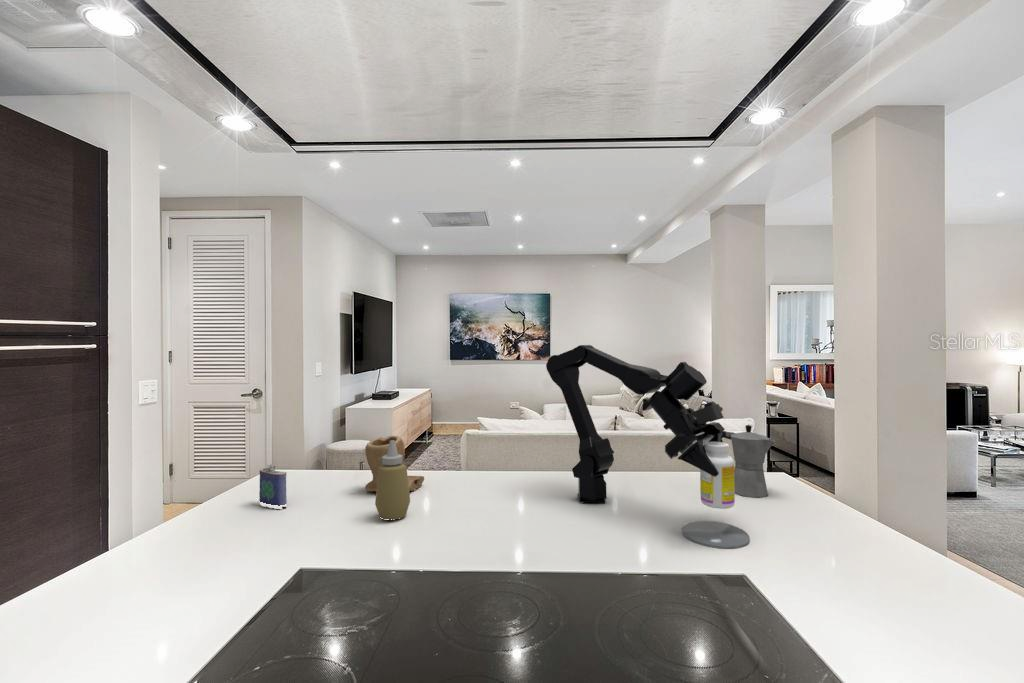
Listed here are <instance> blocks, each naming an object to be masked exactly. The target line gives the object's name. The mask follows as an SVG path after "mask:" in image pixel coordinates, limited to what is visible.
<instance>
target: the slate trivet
mask: <svg viewBox="0 0 1024 683" xmlns="http://www.w3.org/2000/svg"><path fill="white" fill-rule="evenodd" d="M681 534H682V535H683V536H684V537H685V538H686V539H688V540H689V541H691V542H693V543H695V544H697V545H701V546H705V547H710V548H714V549H715V548H716V549H725V550H727V549H729V550H730V549H739V548H740V549H741V548H743V547H746V546H748V544H750V539H751V538H750V535H749V533H748V532H746V530H743V529H742V528H740V527H738V526H735V525H733V524H728V523H726V522H725V523H724V522H719V521H713V520H696V521H689V522H687V523H685V524H683V525H682V527H681Z"/></svg>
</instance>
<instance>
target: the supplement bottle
mask: <svg viewBox="0 0 1024 683" xmlns="http://www.w3.org/2000/svg"><path fill="white" fill-rule="evenodd" d="M729 446H730V445H729V443H726V442H724V441H723V442H706V443H705V450H706V455H707V456H708V458H709V459H710V460H711V462H712V463H713V465H714V466H715V468H716V469H717V471H718V473H719V474H718V475H717V476H715V477H714V476H712V475H710V474H709V473H707V472H705V471H703V470H701V469H699V471H700V472H699V473H700V474H699V476H700V478H699V480H700V483H699V485H700V501H701V503H702V504H703V505H705V506H707V507H709V508H712V509H718V510H721V509H722V510H726V509H731V508H733V507H734V506H735V502H736V500H735V498H736V496H735V495H736V494H735V488H734V469H735V459H734V458H733V457H732V456H730V455H729V454H728V453H729V450H730V447H729Z"/></svg>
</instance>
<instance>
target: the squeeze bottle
mask: <svg viewBox="0 0 1024 683" xmlns="http://www.w3.org/2000/svg"><path fill="white" fill-rule="evenodd" d="M382 464H383V465H381V466H380V467H379V468H378V478H377V489H376V492H375V504H374V505H375V508H376V510H377V513H378V516H379V518H380V517H381V518H383V519H389V520H391V519H392V520H393V519H399V518H402V517H404V516H405V515H406V516H407V512H408V510H409V506H410V502H411V497H410V495H411V494H410V491H409V485H408V476H409V475H408V471H407V469H408V467H407V465H406V464H405V463H404V464H403V463H402V455H400V454H398V452H397V448H396V444H395V440H390V442H389V447H388V452H387V455H384V456H383V457H382ZM406 516H405V517H406ZM405 517H404V518H405ZM381 518H380V519H381ZM402 519H403V518H402ZM399 520H400V519H399Z"/></svg>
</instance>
